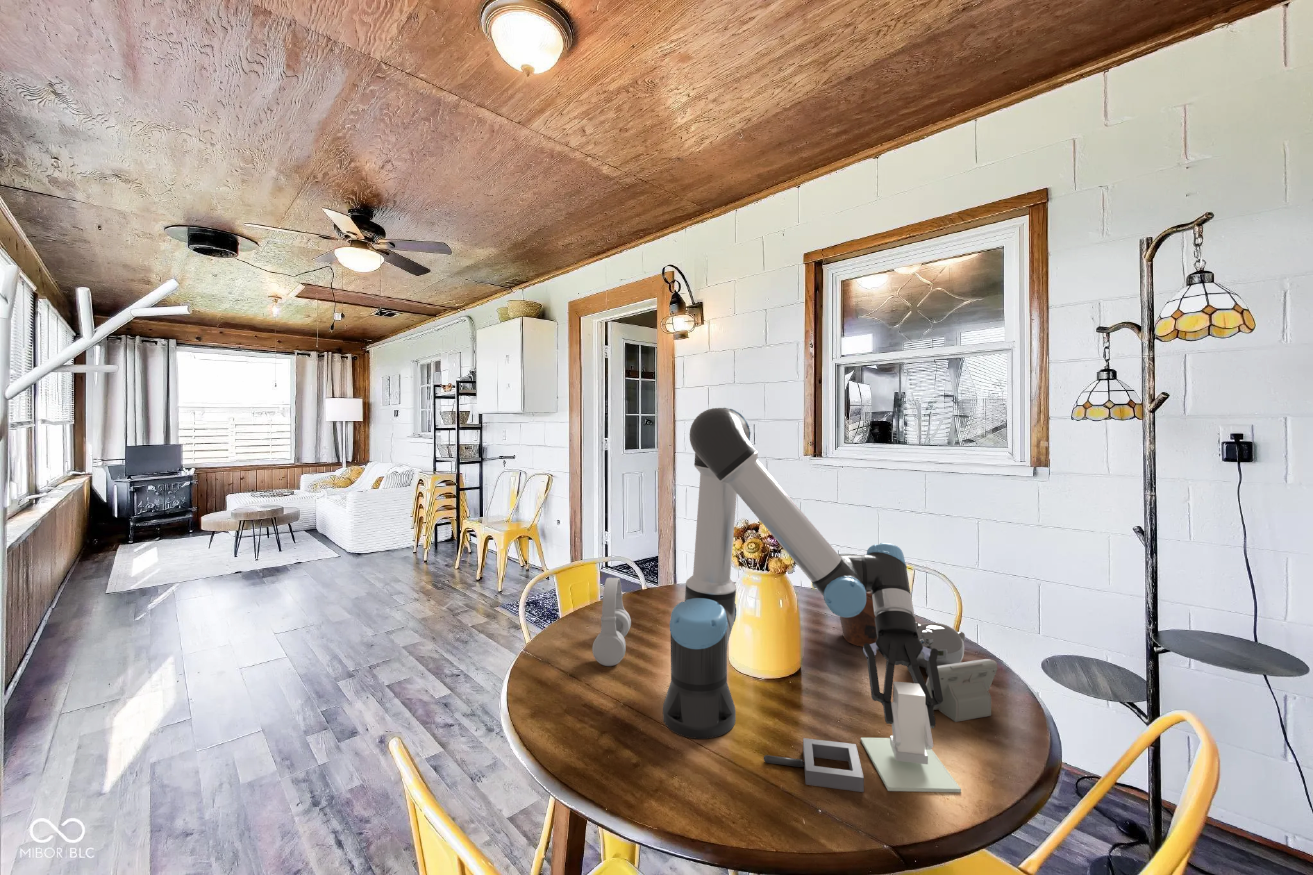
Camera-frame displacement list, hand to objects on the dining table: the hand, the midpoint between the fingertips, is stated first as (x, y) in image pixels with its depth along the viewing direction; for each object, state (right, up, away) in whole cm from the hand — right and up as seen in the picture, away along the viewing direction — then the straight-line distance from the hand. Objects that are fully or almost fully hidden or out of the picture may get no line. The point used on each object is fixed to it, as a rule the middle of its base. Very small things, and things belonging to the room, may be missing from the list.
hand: (913, 745), depth 95 cm
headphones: (-56, -4, +52) cm, 77 cm away
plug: (+1, -4, +4) cm, 5 cm away
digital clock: (+20, -5, +22) cm, 30 cm away
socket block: (-17, -6, +3) cm, 18 cm away
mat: (+1, -6, +4) cm, 7 cm away
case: (+14, -3, +57) cm, 59 cm away
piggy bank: (+23, -4, +39) cm, 46 cm away
